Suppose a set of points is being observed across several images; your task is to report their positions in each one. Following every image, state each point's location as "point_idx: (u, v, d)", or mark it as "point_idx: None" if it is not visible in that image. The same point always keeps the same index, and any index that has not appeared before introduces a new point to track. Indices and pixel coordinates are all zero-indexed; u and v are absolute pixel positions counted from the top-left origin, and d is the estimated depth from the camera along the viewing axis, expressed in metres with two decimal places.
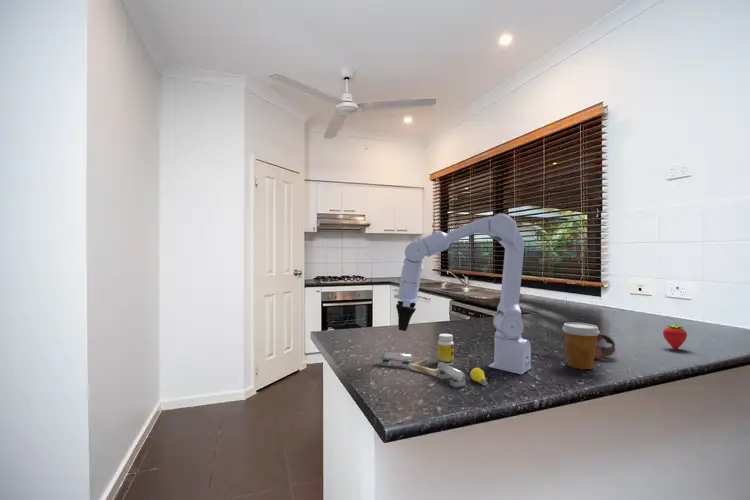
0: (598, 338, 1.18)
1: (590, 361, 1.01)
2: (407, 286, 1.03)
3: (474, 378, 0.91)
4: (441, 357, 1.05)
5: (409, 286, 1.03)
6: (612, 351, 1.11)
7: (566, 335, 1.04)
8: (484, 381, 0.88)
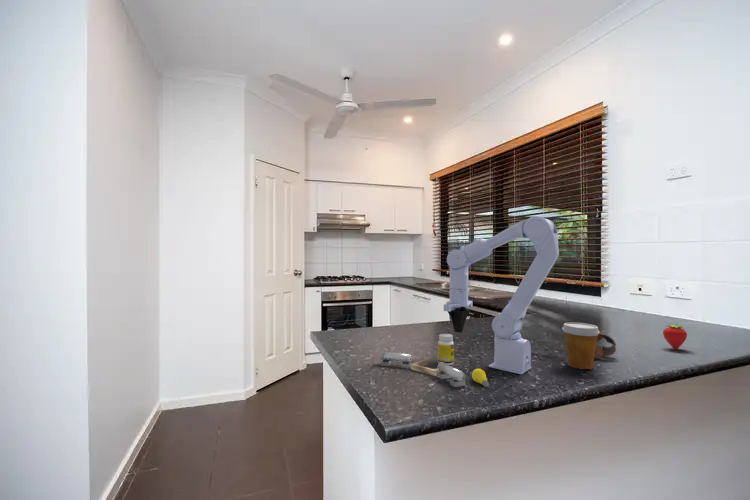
0: (599, 338, 1.18)
1: (590, 361, 1.01)
2: (452, 292, 1.11)
3: (475, 379, 0.90)
4: (441, 357, 1.05)
5: (454, 292, 1.10)
6: (613, 351, 1.12)
7: (566, 335, 1.04)
8: (486, 382, 0.88)
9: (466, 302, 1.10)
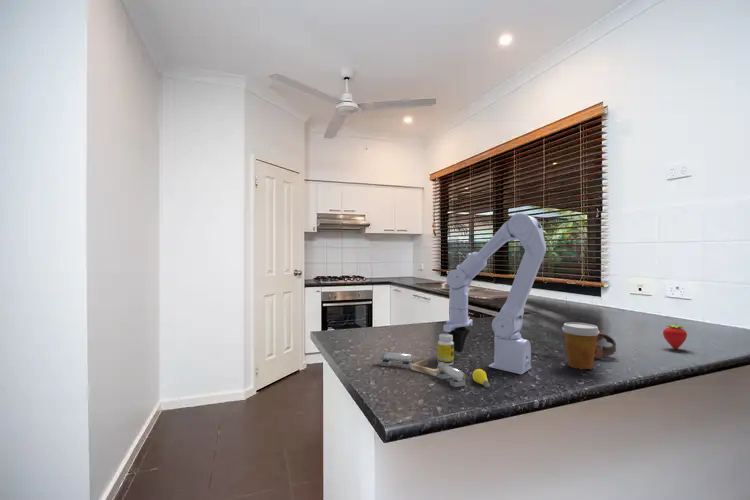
0: (599, 338, 1.18)
1: (590, 361, 1.01)
2: (452, 312, 1.10)
3: (476, 379, 0.90)
4: (441, 357, 1.05)
5: (454, 312, 1.10)
6: (613, 351, 1.12)
7: (566, 335, 1.04)
8: (486, 383, 0.87)
9: (466, 322, 1.10)
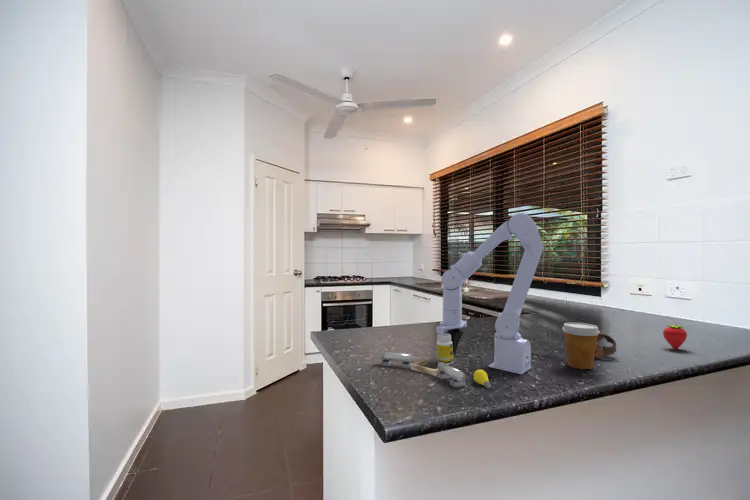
0: (599, 338, 1.19)
1: (590, 361, 1.01)
2: (445, 313, 1.08)
3: (477, 380, 0.89)
4: (440, 357, 1.05)
5: (447, 313, 1.07)
6: (613, 350, 1.12)
7: (566, 335, 1.04)
8: (487, 383, 0.87)
9: (459, 323, 1.07)
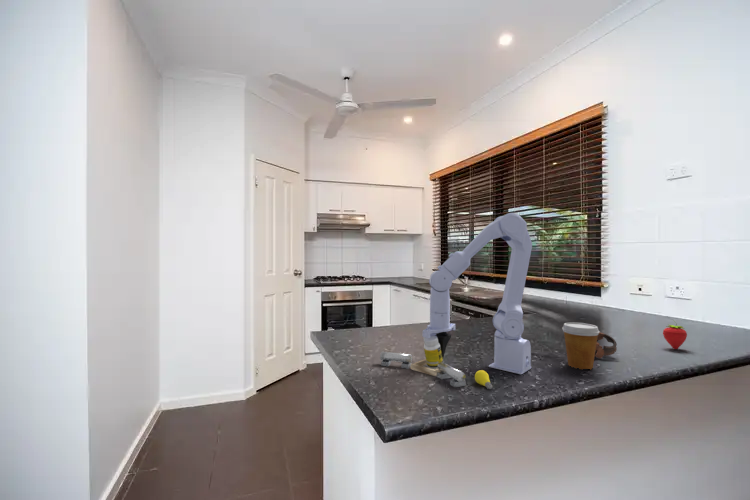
0: (599, 337, 1.19)
1: (590, 361, 1.01)
2: (433, 316, 1.03)
3: (478, 381, 0.89)
4: (429, 362, 1.00)
5: (434, 316, 1.02)
6: (614, 350, 1.12)
7: (566, 335, 1.04)
8: (489, 384, 0.86)
9: (447, 327, 1.02)
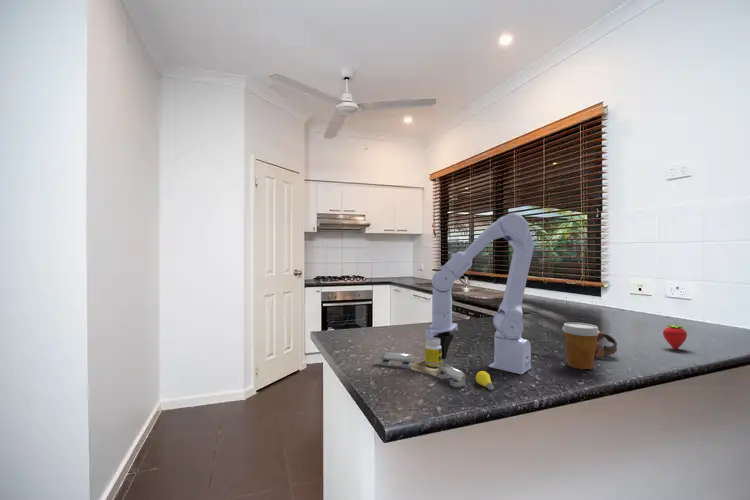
0: (599, 337, 1.19)
1: (590, 361, 1.01)
2: (435, 316, 1.03)
3: (480, 382, 0.88)
4: (428, 362, 1.00)
5: (436, 316, 1.03)
6: (614, 350, 1.13)
7: (566, 335, 1.04)
8: (490, 385, 0.86)
9: (449, 327, 1.03)
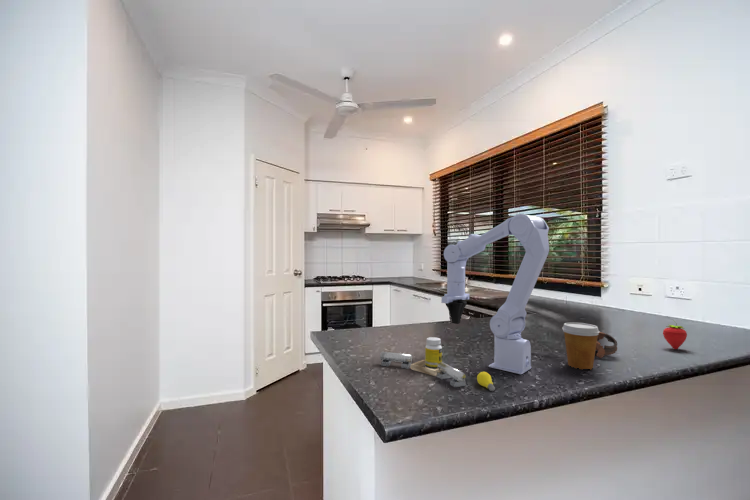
0: (600, 337, 1.19)
1: (590, 361, 1.01)
2: (450, 285, 1.15)
3: (481, 383, 0.87)
4: (428, 362, 1.00)
5: (451, 285, 1.15)
6: (614, 350, 1.13)
7: (566, 335, 1.04)
8: (491, 386, 0.85)
9: (463, 294, 1.15)
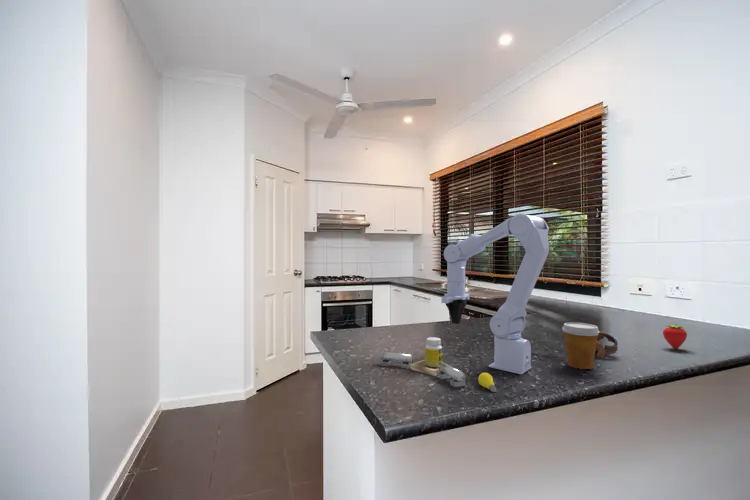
0: (600, 337, 1.20)
1: (590, 361, 1.01)
2: (450, 285, 1.15)
3: (482, 384, 0.87)
4: (428, 362, 1.00)
5: (451, 285, 1.15)
6: (615, 349, 1.13)
7: (566, 335, 1.04)
8: (493, 387, 0.85)
9: (463, 294, 1.15)
